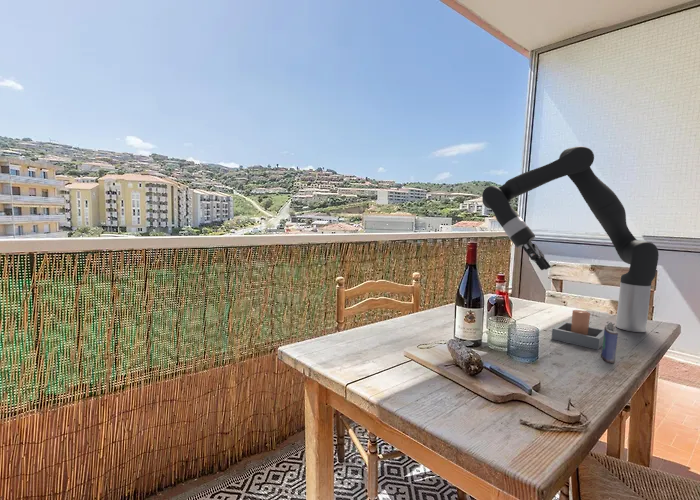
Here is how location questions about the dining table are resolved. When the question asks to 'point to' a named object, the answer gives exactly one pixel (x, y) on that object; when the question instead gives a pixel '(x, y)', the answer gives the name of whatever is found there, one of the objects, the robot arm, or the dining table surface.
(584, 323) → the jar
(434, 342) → the dining table surface
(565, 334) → the tray
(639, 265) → the robot arm
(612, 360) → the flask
